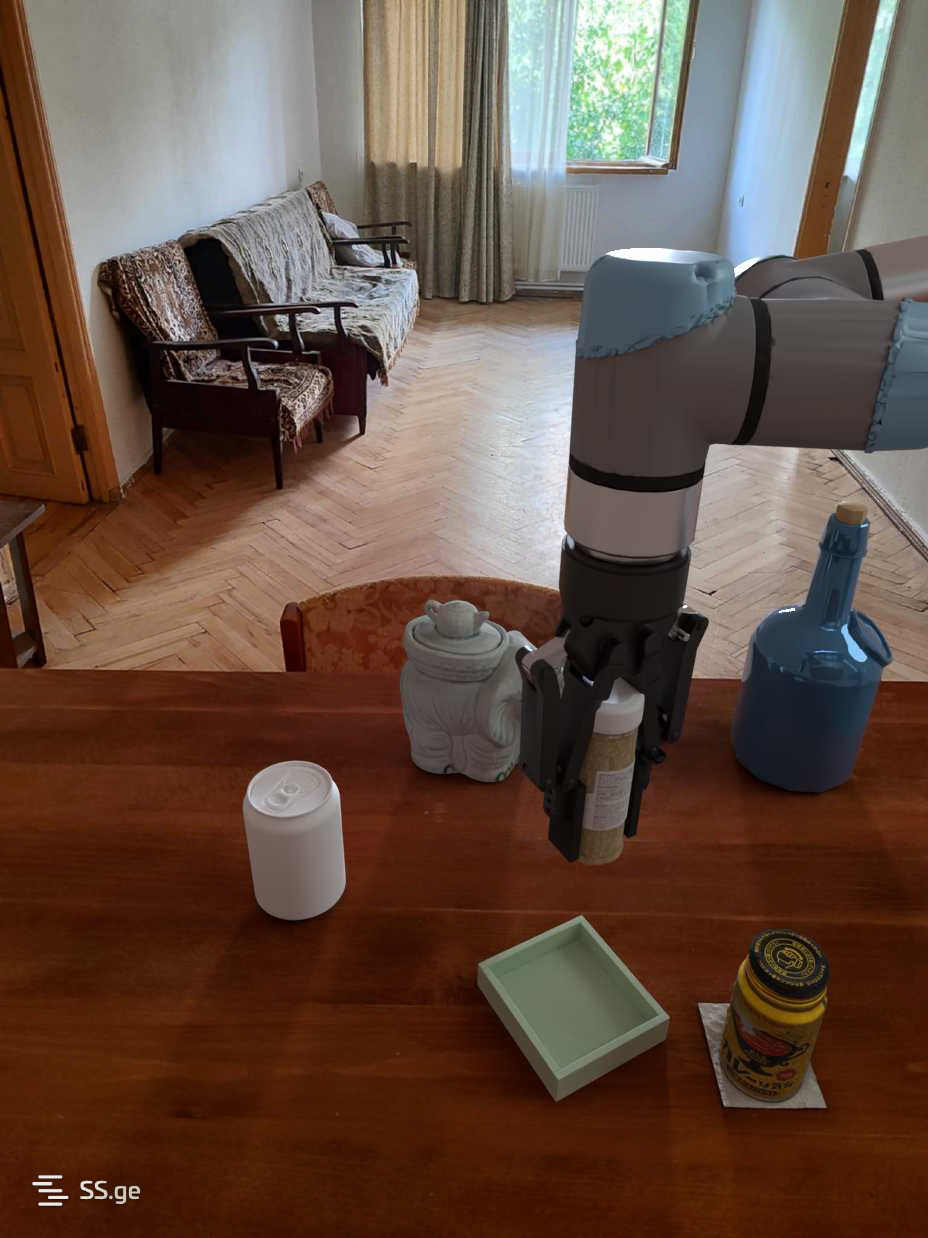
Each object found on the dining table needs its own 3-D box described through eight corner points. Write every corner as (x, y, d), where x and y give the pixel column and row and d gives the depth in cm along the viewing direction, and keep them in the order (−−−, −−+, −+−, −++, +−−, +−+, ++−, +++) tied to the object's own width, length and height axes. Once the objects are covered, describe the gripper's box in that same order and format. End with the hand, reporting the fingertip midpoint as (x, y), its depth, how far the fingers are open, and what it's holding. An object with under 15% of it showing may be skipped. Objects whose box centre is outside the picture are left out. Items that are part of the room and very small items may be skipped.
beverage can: (363, 878, 81) (357, 777, 75) (307, 939, 75) (296, 834, 69) (295, 845, 85) (284, 746, 79) (236, 901, 79) (219, 798, 73)
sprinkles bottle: (551, 828, 65) (564, 675, 58) (609, 819, 66) (628, 667, 59) (572, 874, 61) (588, 715, 54) (634, 863, 62) (657, 705, 55)
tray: (665, 1039, 67) (670, 1018, 66) (555, 1102, 63) (558, 1080, 62) (579, 936, 76) (581, 914, 75) (477, 985, 71) (477, 963, 70)
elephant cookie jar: (584, 776, 94) (601, 624, 85) (467, 829, 87) (470, 669, 78) (496, 700, 106) (502, 559, 97) (386, 741, 99) (381, 593, 90)
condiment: (724, 1108, 63) (753, 998, 57) (697, 1004, 70) (721, 897, 64) (826, 1110, 63) (866, 1000, 57) (789, 1005, 70) (821, 898, 64)
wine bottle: (723, 782, 94) (778, 521, 79) (731, 712, 105) (780, 472, 90) (861, 811, 90) (945, 543, 75) (854, 736, 101) (927, 489, 86)
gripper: (696, 491, 58) (653, 769, 70) (465, 542, 50) (460, 845, 62) (783, 533, 52) (720, 828, 64) (537, 598, 45) (516, 919, 56)
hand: (592, 836), depth 63 cm, fingers closed on sprinkles bottle, 4 cm apart
